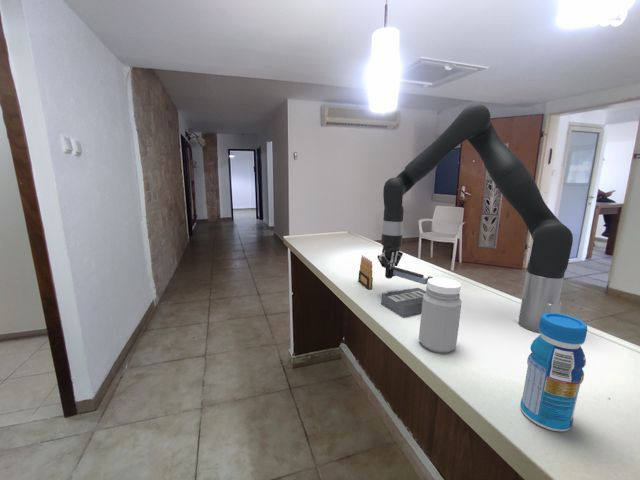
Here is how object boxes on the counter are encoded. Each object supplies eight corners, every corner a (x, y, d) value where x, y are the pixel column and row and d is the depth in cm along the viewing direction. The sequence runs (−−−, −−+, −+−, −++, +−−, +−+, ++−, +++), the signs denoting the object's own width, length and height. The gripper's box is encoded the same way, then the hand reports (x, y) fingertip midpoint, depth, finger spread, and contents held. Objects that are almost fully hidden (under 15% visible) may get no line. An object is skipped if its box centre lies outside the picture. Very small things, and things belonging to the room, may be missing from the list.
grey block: (442, 309, 109) (445, 282, 107) (403, 317, 101) (406, 288, 99) (418, 297, 120) (420, 272, 118) (380, 304, 112) (382, 277, 110)
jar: (438, 334, 91) (445, 275, 88) (464, 351, 82) (473, 286, 79) (410, 338, 88) (416, 277, 84) (434, 357, 79) (442, 290, 75)
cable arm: (423, 286, 113) (424, 276, 112) (389, 276, 124) (390, 267, 123) (427, 285, 114) (428, 275, 114) (393, 275, 126) (394, 266, 125)
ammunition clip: (372, 289, 126) (374, 261, 124) (367, 290, 126) (369, 261, 124) (362, 281, 136) (363, 254, 134) (358, 281, 136) (359, 254, 134)
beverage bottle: (509, 407, 62) (525, 313, 58) (535, 396, 66) (552, 307, 62) (555, 440, 55) (577, 334, 51) (582, 425, 58) (605, 325, 54)
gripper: (389, 236, 108) (386, 283, 111) (411, 232, 117) (407, 277, 120) (372, 233, 114) (369, 278, 117) (394, 230, 122) (391, 272, 125)
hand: (388, 277), depth 118 cm, fingers closed
